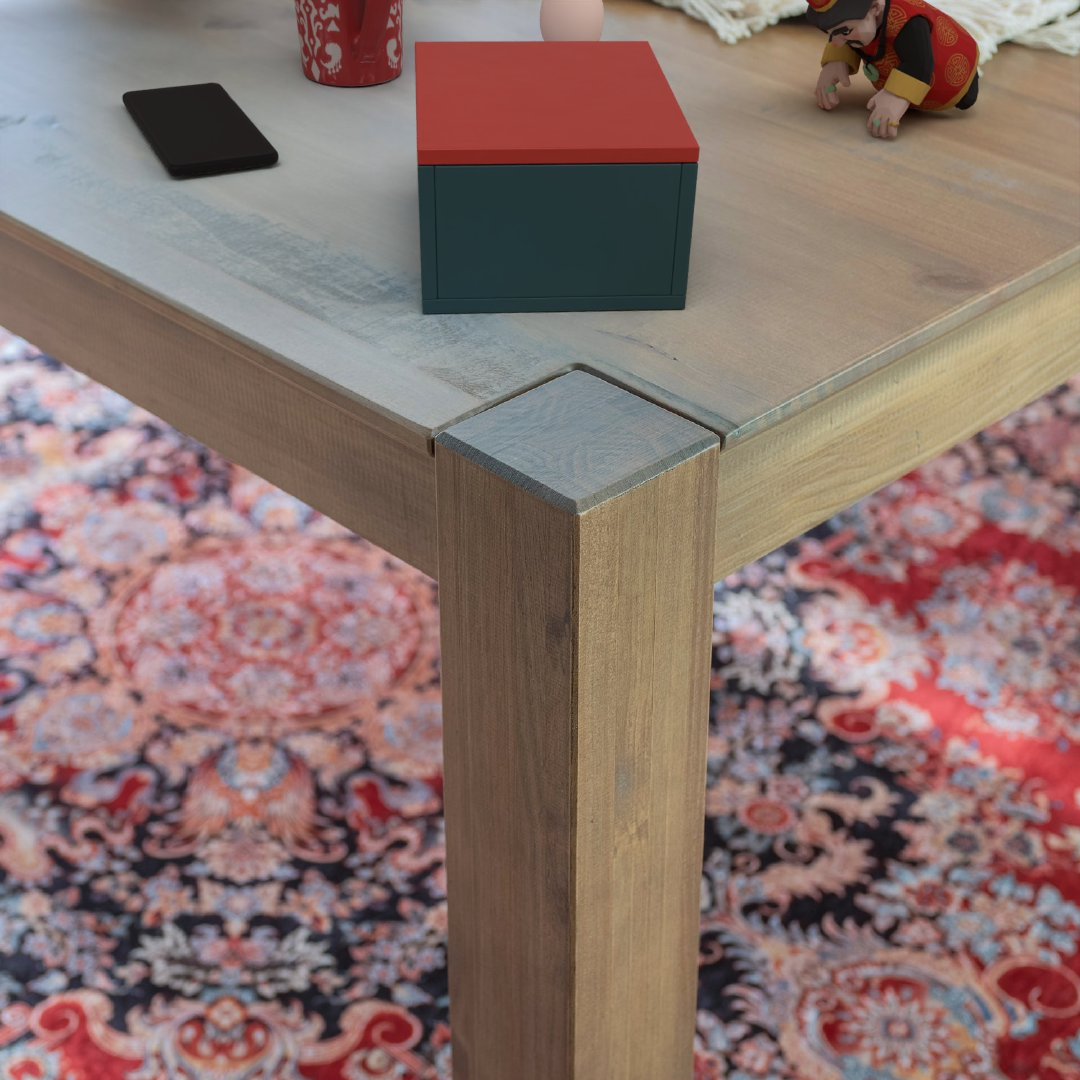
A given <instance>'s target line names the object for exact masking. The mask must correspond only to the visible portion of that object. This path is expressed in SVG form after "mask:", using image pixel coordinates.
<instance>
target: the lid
mask: <svg viewBox="0 0 1080 1080" xmlns="http://www.w3.org/2000/svg"><path fill="white" fill-rule="evenodd" d="M414 68H415V69H414V71H415V75H414V76H415V79H414V80H415V122H416V123H415V124H416V125H415V126H416V127H415V128H416V163H418V164H419V165H442V164H552V163H662V162H697V163H698V162H699V159H700V149H701V147H700V145H699V143H698V141H697V139H696V137H695V134H694V132H693V130H692V128H691V126H690V124H689V122H688V120H687V119H686V116H685V115H684V112H683V110H682V108H681V106H680V104H679V101H678V100H677V98H676V96H675V93H674V92H673V90H672V88H671V85H670V84H669V82H668V80H667V77H666V75H665V73H664V71H663V69H662V67H661V65H660V62H659V61H658V58H657V56H656V55H655V53H654V50H653V48H652V47H651V45H650V42H649V41H648V40H599V41H544V40H537V41H536V40H527V41H526V40H523V41H522V40H521V41H519V40H515V41H512V40H511V41H510V40H508V41H507V40H506V41H505V40H503V41H502V40H501V41H499V40H498V41H496V40H494V41H490V40H489V41H488V40H486V41H484V40H483V41H482V40H481V41H476V40H473V41H461V40H460V41H458V40H457V41H451V40H450V41H449V40H447V41H445V40H443V41H414Z"/></svg>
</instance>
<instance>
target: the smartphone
mask: <svg viewBox="0 0 1080 1080" xmlns="http://www.w3.org/2000/svg"><path fill="white" fill-rule="evenodd" d="M121 99H122V103H123V105H124V106H125V108H126V109H127V111H128V112H129V114H130V115H131V117H132V118H133V120H134V122H135V123H136V125H137V126H138V127H139V129H140V131H141V132H142V134H143V135H144V136H145V138H146V140H147V141H148V143H149V145H150V146H151V147H152V149H153V150H154V152H155V154H156V155H157V156H158V158H159V160H160V161H161V163H162V164H163V165H164V167H165V169H167V171H168V173H169V174H170V175H171V176H173V177H178V178H179V177H180V178H181V177H189V176H197V175H204V174H205V175H206V174H212V173H219V172H228V171H236V170H242V169H252V168H259V167H267V166H273V165H275V164H277V162H278V161H279V158H280V157H279V153H278V151H277V150H276V148H275V147H274V146H273V145H272V143H271V142H270V141H269V140H268V139H267V138H266V136H265V135H264V134H263V132H262V131H260V129H259V128H258V127H257V125H256V124H255V123H254V122H253V121H252V120H251V119H250V117H249V116H248V115H247V114H246V112H244V110H242V108H241V107H240V105H238V103H237V102H236V101H235V100H234V99H233V97H232V96H231V95H230V94H229V93H228V92H227V90H226V89H225V88H224V87H223V86H222V85H221V84H220V83H218V82H205V83H196V84H185V85H176V86H167V87H158V88H148V89H147V88H146V89H139V90H138V89H137V90H129V91H125V92H124V93H123V95H122V98H121Z"/></svg>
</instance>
